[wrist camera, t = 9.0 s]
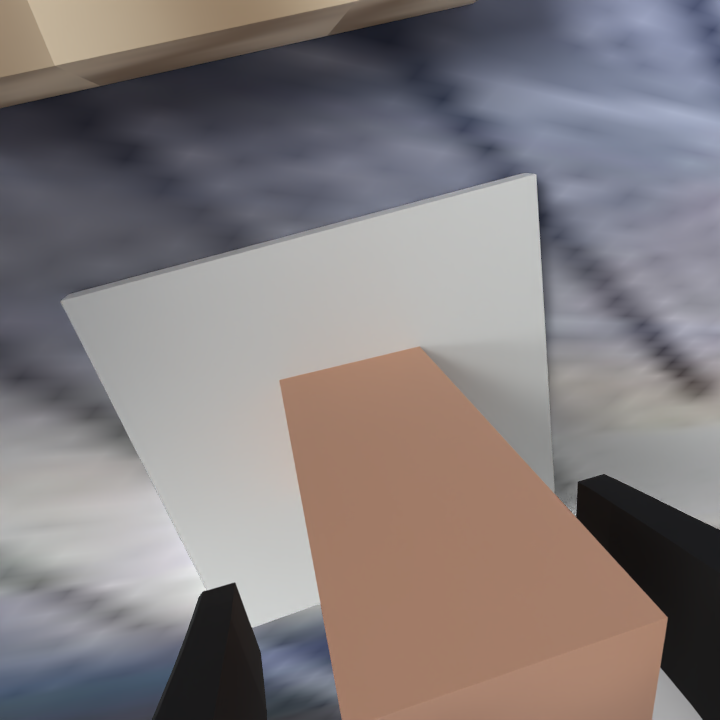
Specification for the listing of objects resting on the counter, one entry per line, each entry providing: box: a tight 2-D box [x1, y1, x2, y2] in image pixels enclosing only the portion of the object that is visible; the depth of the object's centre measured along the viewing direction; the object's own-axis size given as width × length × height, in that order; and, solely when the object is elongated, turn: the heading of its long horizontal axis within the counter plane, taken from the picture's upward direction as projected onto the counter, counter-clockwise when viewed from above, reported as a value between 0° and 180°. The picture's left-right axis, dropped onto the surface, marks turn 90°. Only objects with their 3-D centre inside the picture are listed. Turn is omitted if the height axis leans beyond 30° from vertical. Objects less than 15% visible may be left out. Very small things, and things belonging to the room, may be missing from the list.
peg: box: [279, 346, 668, 720], centre depth 11 cm, size 4×4×9 cm
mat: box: [60, 173, 555, 628], centre depth 15 cm, size 12×12×1 cm
